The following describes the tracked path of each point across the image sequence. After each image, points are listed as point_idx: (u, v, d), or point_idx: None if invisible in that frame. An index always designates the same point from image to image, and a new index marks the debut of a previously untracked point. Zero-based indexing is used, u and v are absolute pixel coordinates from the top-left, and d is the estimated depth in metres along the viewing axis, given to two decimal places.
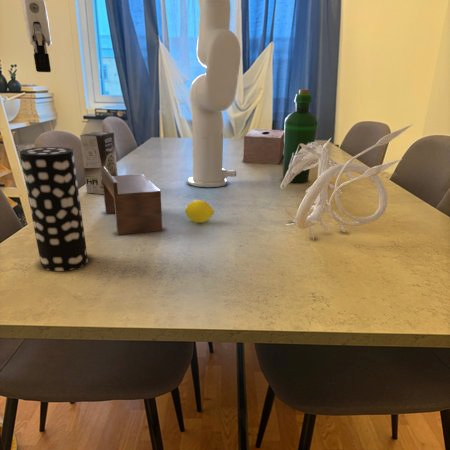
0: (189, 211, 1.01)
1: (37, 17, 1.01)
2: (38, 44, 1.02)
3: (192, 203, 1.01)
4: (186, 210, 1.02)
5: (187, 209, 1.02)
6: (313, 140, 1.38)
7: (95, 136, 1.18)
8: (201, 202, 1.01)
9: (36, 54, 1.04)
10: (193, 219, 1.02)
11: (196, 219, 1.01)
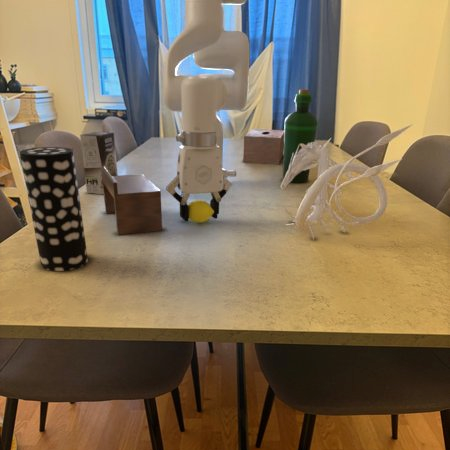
0: (189, 211, 1.01)
1: (178, 168, 0.96)
2: (173, 196, 0.99)
3: (192, 203, 1.01)
4: None
5: None
6: (313, 140, 1.38)
7: (95, 136, 1.18)
8: (201, 202, 1.01)
9: None
10: (193, 219, 1.02)
11: (196, 219, 1.01)
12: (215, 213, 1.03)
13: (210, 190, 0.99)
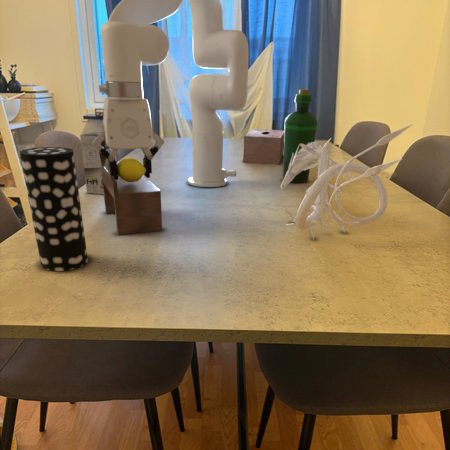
0: (119, 168, 0.97)
1: (104, 121, 0.92)
2: None
3: (122, 160, 0.97)
4: None
5: (117, 167, 0.97)
6: (313, 140, 1.38)
7: (95, 136, 1.18)
8: (131, 159, 0.97)
9: None
10: (124, 177, 0.97)
11: (126, 177, 0.97)
12: (147, 172, 0.99)
13: (139, 146, 0.94)
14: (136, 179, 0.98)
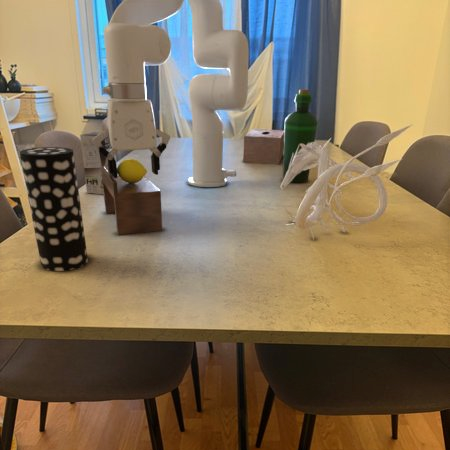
0: (120, 169, 0.97)
1: (107, 122, 0.92)
2: None
3: (123, 162, 0.97)
4: (117, 169, 0.98)
5: (118, 168, 0.98)
6: (313, 140, 1.38)
7: None
8: (131, 160, 0.97)
9: None
10: (124, 178, 0.98)
11: (127, 178, 0.97)
12: (155, 169, 0.99)
13: (142, 146, 0.95)
14: (137, 180, 0.98)
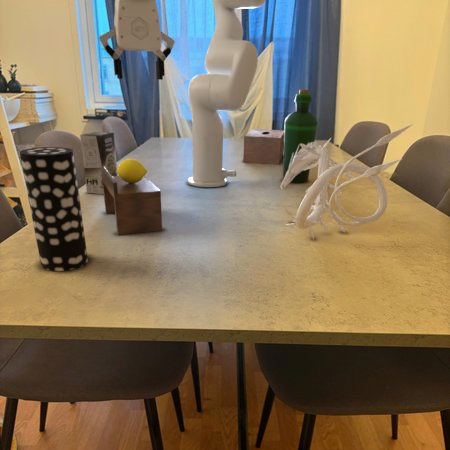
0: (120, 169, 0.97)
1: (114, 21, 0.96)
2: (105, 50, 0.99)
3: (123, 161, 0.97)
4: (117, 169, 0.98)
5: (118, 168, 0.98)
6: (313, 140, 1.38)
7: (95, 136, 1.18)
8: (132, 160, 0.97)
9: None
10: (125, 178, 0.98)
11: (127, 178, 0.97)
12: (160, 73, 1.03)
13: (148, 47, 0.99)
14: (137, 180, 0.98)
